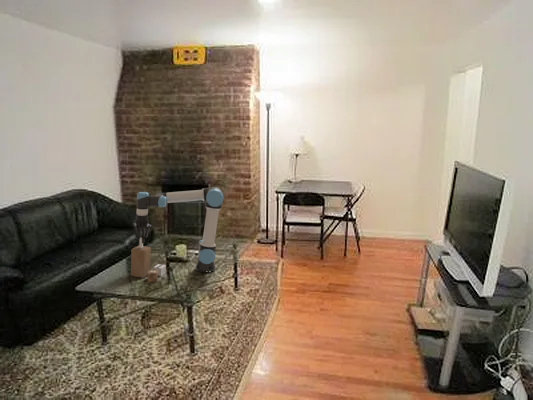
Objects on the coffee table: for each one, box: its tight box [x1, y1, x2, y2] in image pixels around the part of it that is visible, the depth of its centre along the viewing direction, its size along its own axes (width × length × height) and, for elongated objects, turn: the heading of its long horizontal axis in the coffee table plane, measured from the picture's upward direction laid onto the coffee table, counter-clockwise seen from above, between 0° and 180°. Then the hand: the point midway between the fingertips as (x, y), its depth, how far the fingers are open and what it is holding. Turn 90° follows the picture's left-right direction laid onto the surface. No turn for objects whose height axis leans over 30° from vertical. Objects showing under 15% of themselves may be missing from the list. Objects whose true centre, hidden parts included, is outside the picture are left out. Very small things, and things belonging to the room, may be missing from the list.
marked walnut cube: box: [147, 269, 159, 283], centre depth 255 cm, size 6×6×6 cm
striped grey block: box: [153, 263, 167, 277], centre depth 267 cm, size 6×7×6 cm
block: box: [130, 245, 152, 279], centre depth 261 cm, size 10×10×20 cm
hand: (141, 247), depth 259 cm, fingers closed
